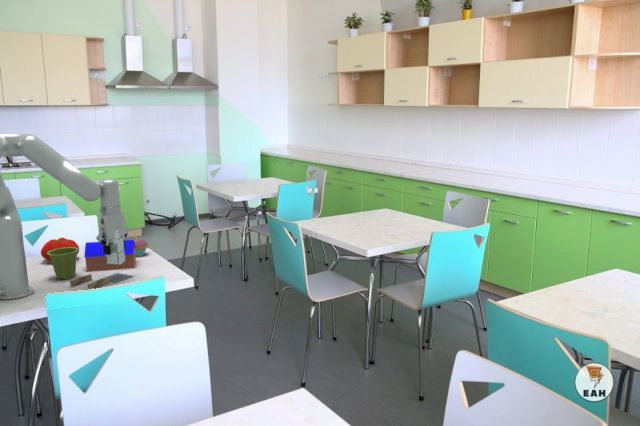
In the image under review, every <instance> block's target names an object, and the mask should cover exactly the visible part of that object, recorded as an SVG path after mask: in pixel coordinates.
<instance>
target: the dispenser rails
mask: <svg viewBox="0 0 640 426" xmlns="http://www.w3.org/2000/svg"><path fill="white" fill-rule="evenodd" d="M92 276H93V275H92V274H91V273H89V274H86V275H83V276H80V277H77V278H74V279H73V278H72V279H71V280H69V284H70V287H71V288H73V287H76V286H79V285H82V284H85V283H87V284H86V285H87V290H88V289H92V288H95V289H97V288H101V287H103V286H106V285H108V284H110V282H109V278H108V277H107V276H105V277H106V278H104V277H102V278H103V279H101V278H100V279H101V280H100V279H98V280H96V281H93V282H91V281H92V280H93V278H92ZM88 282H90V283H88Z"/></svg>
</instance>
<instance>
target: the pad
mask: <svg viewBox="0 0 640 426" xmlns="http://www.w3.org/2000/svg"><path fill="white" fill-rule="evenodd" d="M106 277H108V278H109V283H114V284H117V283H120V282H122V281H125V280H128V279H131V278H134V275H131V274H126V273H120V272H115V273H113V274H110V275H108V276H104V277H102V278H100V279H99V280H101V279H103V278H106Z"/></svg>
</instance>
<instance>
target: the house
mask: <svg viewBox="0 0 640 426" xmlns="http://www.w3.org/2000/svg"><path fill="white" fill-rule="evenodd" d="M134 241H135V239H126V240H125V249H126V250H124V254H125V262H123V263H122V264H120V265H107V264H106V255H105V254H104V249H103V245H102V244H101V243H100V242H99V241H93V242H92V241H91V242H89V241H88V242H85V247H84V258H85V265H86V272H97V271H100V272H101V271H110V270H125V269H135V265H136V260H137V258H136V257H137V256H135V243H134Z"/></svg>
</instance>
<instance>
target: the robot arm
mask: <svg viewBox="0 0 640 426" xmlns="http://www.w3.org/2000/svg"><path fill="white" fill-rule="evenodd" d="M4 157H7V158H8V157H24V158H25V159H27V160H28V161H30V162H31V163H33V164H34V165H35V166H37V167H38V168H40V169H41V170H42V171H43V172H45V173H46V174H48V176H50V177H51V178H53V179H54V180H56V181H58V182H59V183H60V184H63V186H65V187H66V188H68V189H69V190H70V191H72V192H73V193H75V194H76V195H77V196H79V197H80V198H82V199H83V200H84V201H86V202H95V201H97V200H98V199H99V202H100V203H99V204H100V209H99V212H100V215H99V233H98V234H97V235H96V237H95V239H96V240H97V242H100V243H101V244H102V245H103V249H104V254H105V255H110V254H111V251H110V245H109V241H110V239H113V238H115V237H114V231H116V230H119V236H123V243H124V250H126V249H125V240H127V237H128V234H129V232H130V229H129V228H128V227H127V223H126V218H125V214H124V212H123V211H122V209H121V208H122V206H121V205H122V204H121V196H120V195H121V194H120V186H119V185H120V184H119V181H118V179H115V178H104V179H91V178H90V177H88V176H87V175H85V174H84V173H83V172H81V171H80V170H79V169H78V168H76V167H75V166H74V165H73V164H72V163H71V162H70V161H69V160H68V159H67V158H65V157H64V156H63V155H61V154H60V153H59V152H58V151H56V150H55V149H54V148H52V147H51V146H50V145H48V144H47V143H46V142H45V141H44V140H42V139H40V138H39V137H38V136H37V135H35V134H32V133H21V134H20V133H19V134H16V133H15V134H14V133H13V134H10V133H9V134H3V133H2V134H0V159H2V158H4ZM104 234H105V235H104ZM105 236H106V237H105ZM106 239H107V240H106ZM105 241H106V242H105ZM24 242H25V241H24V233H23V224H22V220H21V217H20V214H19V211H18V209H17V206H16V203H15V201H14V199H13V196H12V193H11V190H10V188H9V187H8V186H7V185H6V183H5V181H4V178H3V175H2V172H1V171H0V300H16V299H21V298H24V297H28V296H30V295H32V294H33V293H34V291H35V289H34V287H33V286H30V285H29V275H28V268H27V267H28V266H27V259H26V253H25V252H26V250H25V243H24ZM20 297H21V298H20ZM15 298H16V299H15Z"/></svg>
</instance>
